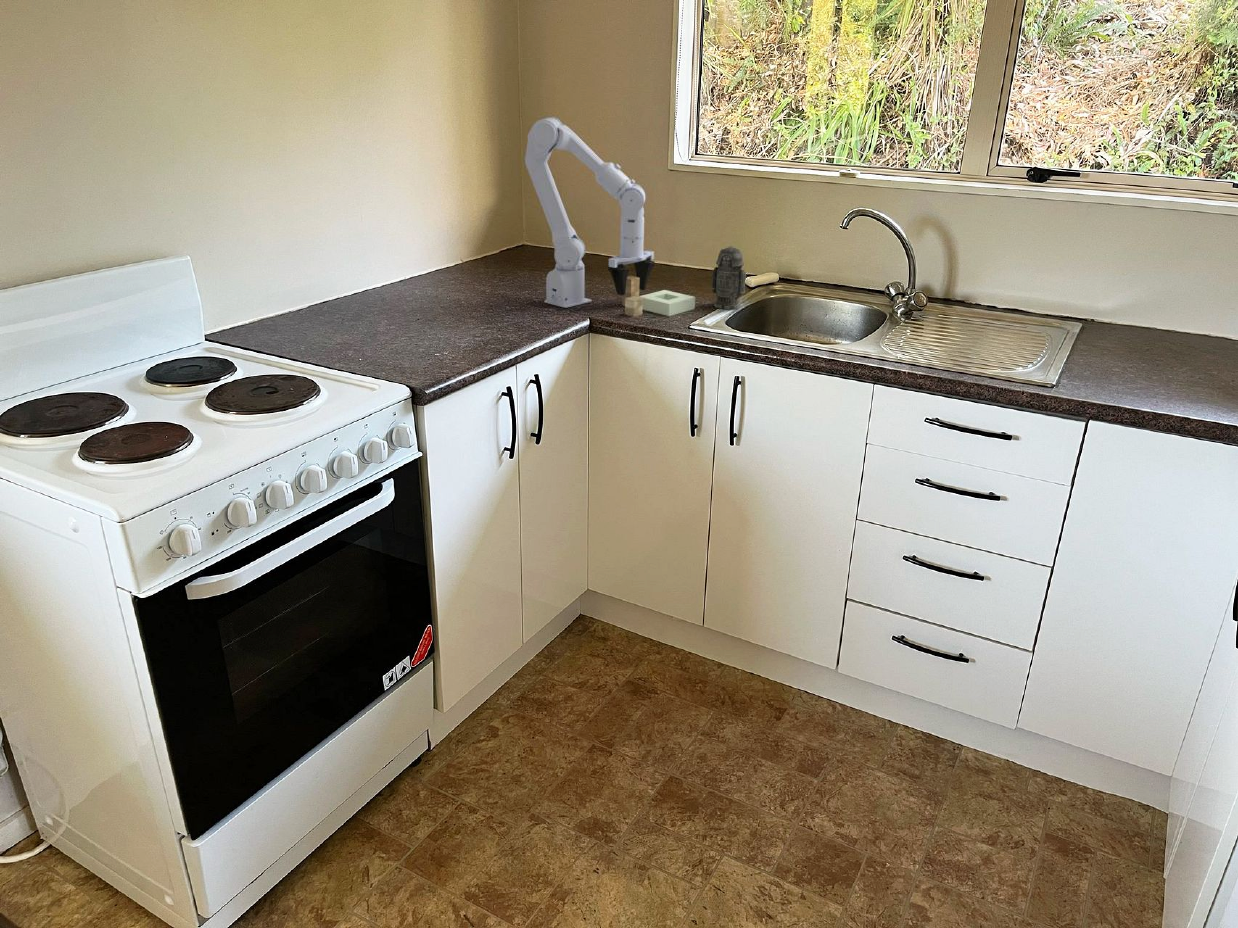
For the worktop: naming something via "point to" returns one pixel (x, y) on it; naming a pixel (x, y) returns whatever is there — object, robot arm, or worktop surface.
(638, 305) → the short pin
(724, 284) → the toy
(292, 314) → the worktop surface
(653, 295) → the socket
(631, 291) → the long pin
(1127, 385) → the worktop surface
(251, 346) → the worktop surface
